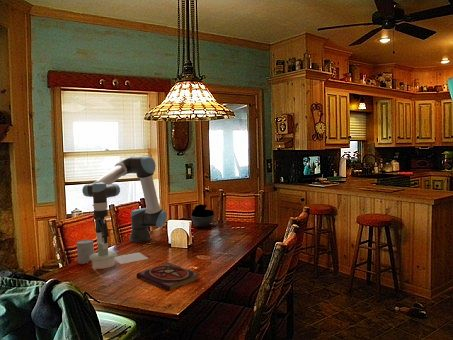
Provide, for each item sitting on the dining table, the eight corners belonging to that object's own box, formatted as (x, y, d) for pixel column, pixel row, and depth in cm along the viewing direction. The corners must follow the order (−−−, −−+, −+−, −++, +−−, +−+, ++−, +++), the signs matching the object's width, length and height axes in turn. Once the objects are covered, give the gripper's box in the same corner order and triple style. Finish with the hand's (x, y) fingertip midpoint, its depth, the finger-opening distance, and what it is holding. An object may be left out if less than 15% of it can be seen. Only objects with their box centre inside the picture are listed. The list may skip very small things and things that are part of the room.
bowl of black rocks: (205, 223, 327) (205, 202, 326) (219, 226, 312) (219, 204, 311) (186, 227, 315) (186, 205, 313) (200, 230, 299) (199, 207, 298)
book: (136, 279, 195) (136, 270, 194) (169, 268, 209) (169, 259, 209) (167, 293, 174) (167, 283, 174) (201, 280, 189) (201, 270, 189)
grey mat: (139, 253, 238) (139, 252, 238) (148, 260, 224) (148, 258, 224) (112, 258, 229) (112, 257, 229) (120, 265, 215) (120, 264, 215)
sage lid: (112, 251, 224) (111, 238, 224) (120, 257, 212) (119, 243, 211) (86, 256, 216) (85, 242, 215) (93, 262, 203) (92, 248, 203)
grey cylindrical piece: (97, 259, 229) (96, 239, 229) (88, 264, 220) (86, 243, 219) (84, 258, 232) (83, 239, 231) (74, 263, 223) (73, 243, 222)
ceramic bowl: (111, 262, 222) (110, 252, 222) (117, 267, 212) (116, 257, 212) (90, 266, 216) (90, 256, 216) (95, 271, 206) (95, 261, 205)
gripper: (88, 207, 220) (90, 242, 222) (99, 213, 199) (101, 251, 201) (101, 206, 225) (103, 240, 226) (113, 211, 204) (115, 249, 205)
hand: (102, 246), depth 213 cm, fingers open, 13 cm apart
